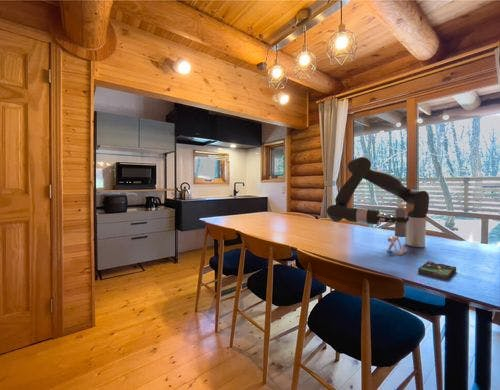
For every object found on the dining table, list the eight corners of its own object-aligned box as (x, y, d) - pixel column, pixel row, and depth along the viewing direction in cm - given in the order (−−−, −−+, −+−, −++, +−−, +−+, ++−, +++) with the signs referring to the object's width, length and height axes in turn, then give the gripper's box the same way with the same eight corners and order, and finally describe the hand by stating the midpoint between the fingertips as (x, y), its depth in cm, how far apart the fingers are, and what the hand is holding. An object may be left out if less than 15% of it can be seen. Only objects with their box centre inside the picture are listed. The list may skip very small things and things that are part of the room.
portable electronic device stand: (400, 255, 130) (401, 240, 129) (384, 252, 136) (385, 237, 135) (407, 252, 135) (407, 237, 135) (391, 249, 141) (392, 235, 141)
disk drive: (427, 266, 115) (417, 274, 105) (427, 260, 115) (417, 268, 105) (456, 273, 107) (448, 282, 97) (456, 266, 107) (448, 275, 97)
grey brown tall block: (393, 236, 115) (394, 203, 114) (395, 234, 119) (396, 203, 118) (404, 237, 113) (405, 204, 112) (406, 235, 116) (407, 203, 115)
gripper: (363, 210, 119) (405, 213, 108) (371, 207, 130) (410, 209, 119) (363, 225, 119) (405, 230, 108) (371, 221, 130) (409, 225, 119)
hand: (407, 219), depth 113 cm, fingers closed on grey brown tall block, 4 cm apart
